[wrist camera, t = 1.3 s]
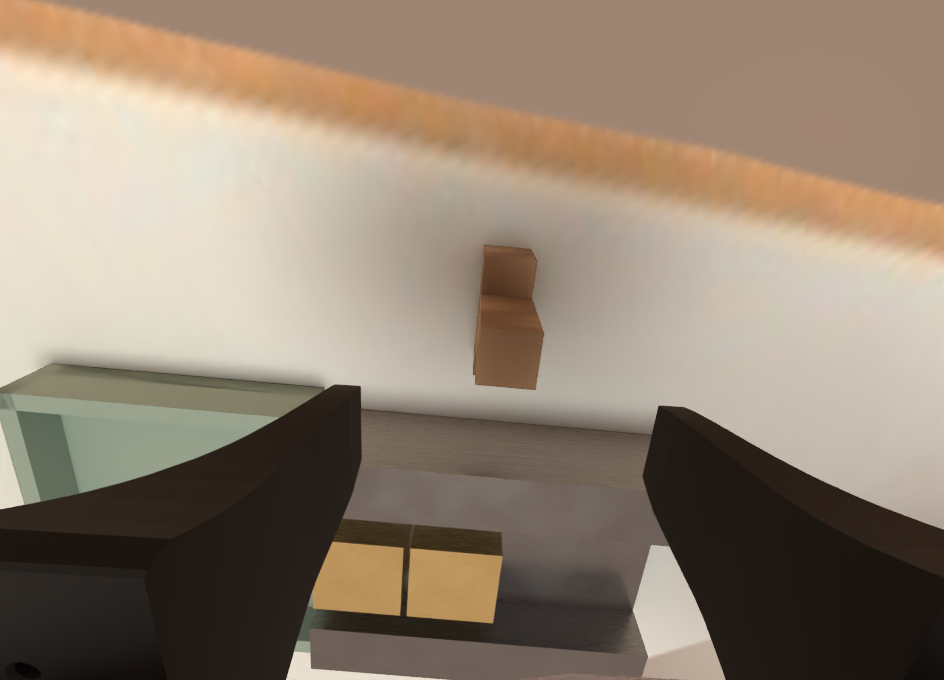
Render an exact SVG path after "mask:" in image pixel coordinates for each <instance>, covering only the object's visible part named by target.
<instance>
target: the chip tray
mask: <svg viewBox="0 0 944 680" xmlns="http://www.w3.org/2000/svg"><path fill="white" fill-rule="evenodd" d="M322 391H324V388H321V387H309V386H298V385H287V384H276V383H264V382H253V381H242V380H230V379H219V378H208V377H197V376H185V375H174V374H163V373H152V372H140V371H129V370H118V369H107V368H95V367H84V366H73V365H62V364H49V365H47V366H45V367H43V368H41V369H39V370H37V371H35V372H33V373H31V374H29V375H26V376H24V377H22V378H20V379H18V380H16V381H14V382H12V383H10V384H8V385H6V386H4V387H1V388H0V422H1V425H2V429H3V432H4V436H5V439H6V442H7V446H8V449H9V453H10V456H11V460H12V463H13V466H14V470H15V473H16V477H17V480H18V484H19V487H20V491H21V494H22V497H23V501H24V504H25V505H26V504H31V503H36V502H41V501H46V500H51V499H56V498H61V497H66V496H71V495H75V494H79V493H83V492H88V491H92V490H95V489H99V488H103V487H107V486H111V485H115V484H118V483H122V482H125V481H129V480H132V479H136V478H139V477H143V476H146V475H149V474H152V473H155V472H158V471H161V470H163V469H166V468H169V467H172V466H175V465H178V464H181V463H183V462H186V461H189V460H192V459H195V458H197V457H200V456H202V455H205V454H207V453H210V452H212V451H214V450H217V449H219V448H221V447H224V446H226V445H228V444H230V443H232V442H234V441H237V440H239V439H241V438H243V437H245V436H247V435H249V434H251V433H252V432H254V431H256V430H258V429H260V428H262V427H263V426H265V425H267V424H269V423H271V422H273V421H274V420H276V419H278V418H280V417H282V416H283V415H285V414H287V413H288V412H290V411H292V410H293V409H295V408H296V407H298V406H300V405H301V404H303V403H305V402H306V401H308V400H310V399H311V398H313V397H314V396H316V395H318V394H319V393H321V392H322ZM316 610H317V609H313V591H312V594H311V597H310V600H309V603H308V607H307V610H306V613H305V616H304V620H303V623H302V626H301V629H300V633H299V636H298V639H297V643H296V646H295V650H294V651H296V652H309V653H311V651H310V626H311V623H312V621H313V618H314V615H315V612H316Z"/></svg>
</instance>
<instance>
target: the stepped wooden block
mask: <svg viewBox="0 0 944 680" xmlns="http://www.w3.org/2000/svg"><path fill="white" fill-rule="evenodd" d="M536 265H537V260H536V258H535V256H534V254H533V252H532V250H531V249H523V248H512V247H501V246H490V245H484V256H483V266H482V276H481V286H480V296H479V306H478V317H477V327H476V337H475V347H474V364H473V375H475V385H485V386H497V387H508V388H519V389H530V390H535V389H536V383H537V376H538V370H539V363H540V356H541V350H542V343H543V337H544V332H543V329H542V326H541V323H540V320H539V318H538V315H537V312H536V309H535V306H534V303H533V301H532V294H533V287H534V279H535V272H536Z"/></svg>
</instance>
